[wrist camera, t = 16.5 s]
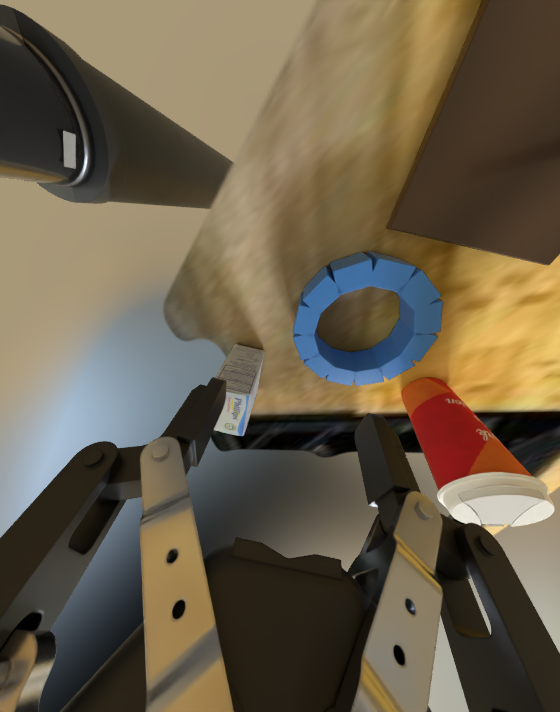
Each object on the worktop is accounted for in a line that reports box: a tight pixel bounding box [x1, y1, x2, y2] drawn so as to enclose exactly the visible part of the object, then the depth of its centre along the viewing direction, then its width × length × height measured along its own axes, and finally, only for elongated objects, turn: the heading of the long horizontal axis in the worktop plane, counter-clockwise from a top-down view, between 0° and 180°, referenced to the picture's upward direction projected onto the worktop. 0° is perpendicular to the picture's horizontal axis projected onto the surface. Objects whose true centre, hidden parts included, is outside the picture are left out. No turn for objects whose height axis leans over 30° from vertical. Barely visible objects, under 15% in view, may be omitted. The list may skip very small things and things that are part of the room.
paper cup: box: [402, 378, 554, 527], centre depth 22 cm, size 8×8×14 cm
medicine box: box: [214, 344, 265, 436], centre depth 26 cm, size 8×4×9 cm, turn 168°
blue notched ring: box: [293, 251, 443, 386], centre depth 22 cm, size 14×14×4 cm
